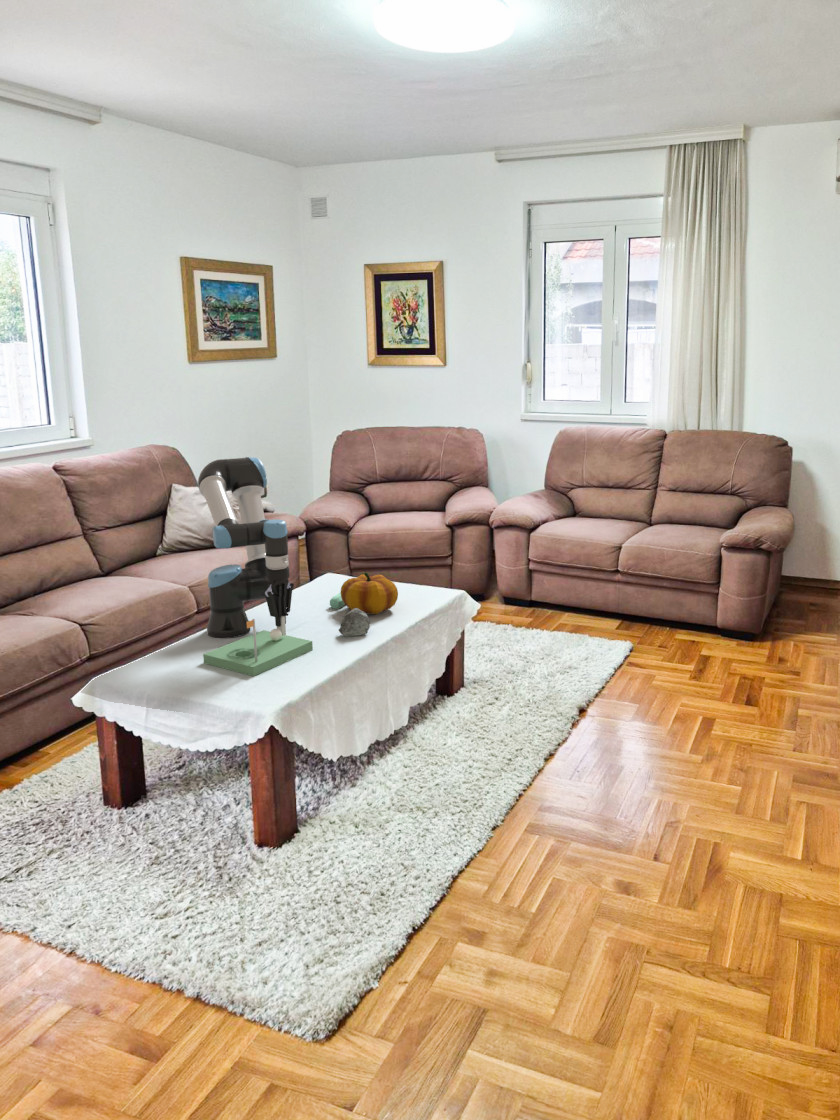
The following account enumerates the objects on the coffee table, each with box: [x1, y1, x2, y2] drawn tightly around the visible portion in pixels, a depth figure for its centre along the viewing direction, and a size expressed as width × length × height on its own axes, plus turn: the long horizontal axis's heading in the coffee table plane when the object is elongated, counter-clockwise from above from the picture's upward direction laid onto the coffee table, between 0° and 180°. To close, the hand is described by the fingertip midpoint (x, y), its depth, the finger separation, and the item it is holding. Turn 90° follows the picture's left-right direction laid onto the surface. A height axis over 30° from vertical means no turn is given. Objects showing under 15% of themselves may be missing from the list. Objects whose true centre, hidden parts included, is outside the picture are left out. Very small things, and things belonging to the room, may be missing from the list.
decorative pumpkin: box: [339, 571, 399, 615], centre depth 345 cm, size 20×22×15 cm
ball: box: [269, 628, 282, 641], centre depth 306 cm, size 4×4×4 cm
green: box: [202, 618, 314, 677], centre depth 298 cm, size 28×22×17 cm
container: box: [329, 592, 346, 610], centre depth 359 cm, size 6×6×25 cm
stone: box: [338, 608, 370, 637], centre depth 320 cm, size 10×10×10 cm
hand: (281, 634), depth 308 cm, fingers closed
